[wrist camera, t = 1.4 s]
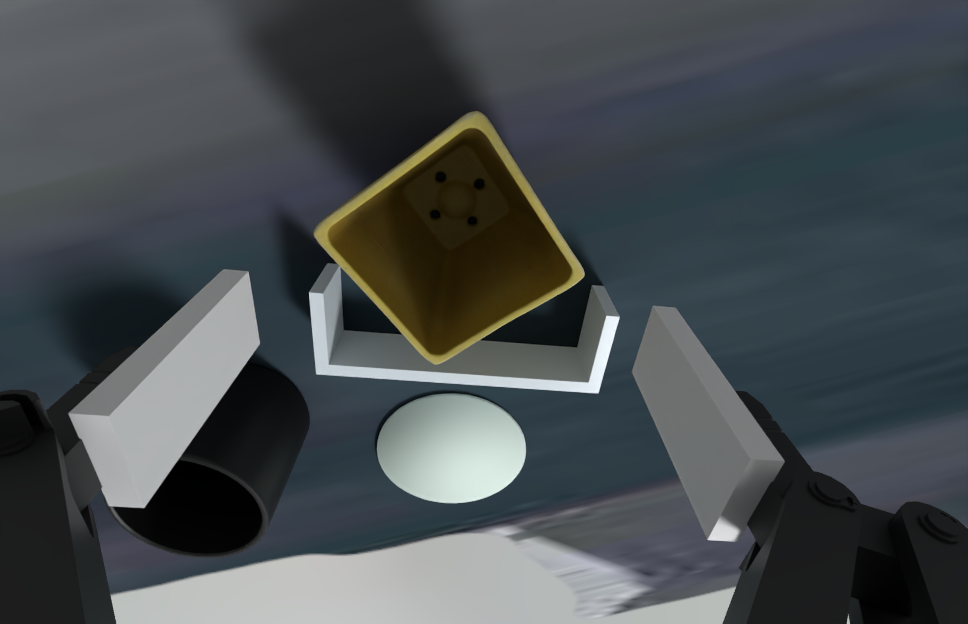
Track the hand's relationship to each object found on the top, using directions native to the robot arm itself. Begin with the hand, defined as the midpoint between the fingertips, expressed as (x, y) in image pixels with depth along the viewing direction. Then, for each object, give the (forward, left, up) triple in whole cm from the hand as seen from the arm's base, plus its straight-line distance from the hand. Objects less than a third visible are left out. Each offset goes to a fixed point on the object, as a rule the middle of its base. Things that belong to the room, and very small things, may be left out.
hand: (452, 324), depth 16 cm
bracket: (+1, -8, -15) cm, 17 cm away
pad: (+1, -21, -15) cm, 26 cm away
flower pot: (0, 0, -15) cm, 15 cm away
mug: (-16, -18, -15) cm, 28 cm away
